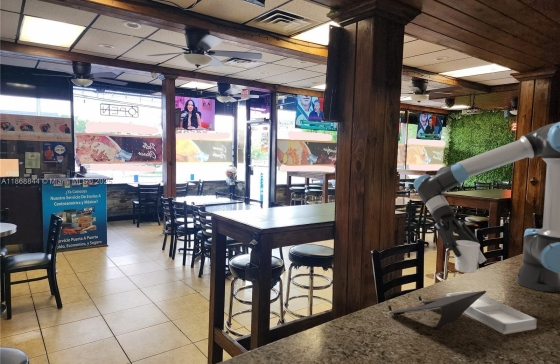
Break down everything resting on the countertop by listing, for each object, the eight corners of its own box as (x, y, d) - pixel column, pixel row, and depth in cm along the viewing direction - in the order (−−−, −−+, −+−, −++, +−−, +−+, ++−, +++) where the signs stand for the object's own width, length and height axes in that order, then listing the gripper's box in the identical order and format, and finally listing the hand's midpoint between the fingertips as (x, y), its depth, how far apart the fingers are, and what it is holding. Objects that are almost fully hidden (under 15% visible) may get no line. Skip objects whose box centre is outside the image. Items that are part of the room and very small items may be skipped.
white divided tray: (472, 298, 134) (472, 290, 134) (536, 328, 111) (536, 319, 110) (444, 301, 130) (444, 293, 130) (503, 334, 107) (504, 324, 107)
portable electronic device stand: (434, 320, 129) (424, 294, 132) (495, 314, 111) (483, 283, 114) (389, 337, 117) (380, 307, 120) (450, 333, 99) (438, 298, 101)
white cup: (480, 274, 126) (482, 246, 125) (455, 272, 128) (457, 244, 127) (474, 267, 134) (476, 241, 133) (451, 265, 136) (453, 239, 135)
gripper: (453, 213, 147) (487, 264, 134) (414, 217, 139) (446, 271, 126) (465, 202, 142) (502, 254, 129) (426, 205, 134) (461, 261, 121)
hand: (474, 263), depth 127 cm, fingers closed on white cup, 8 cm apart
